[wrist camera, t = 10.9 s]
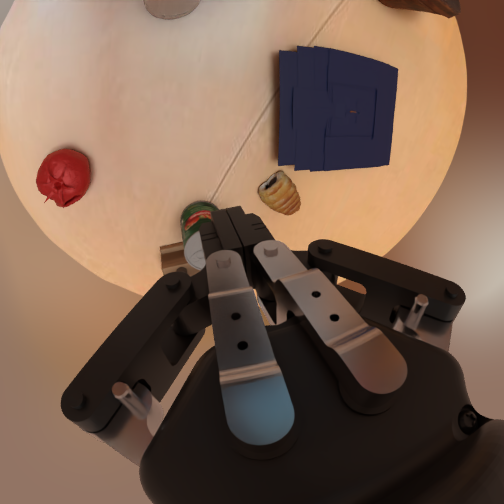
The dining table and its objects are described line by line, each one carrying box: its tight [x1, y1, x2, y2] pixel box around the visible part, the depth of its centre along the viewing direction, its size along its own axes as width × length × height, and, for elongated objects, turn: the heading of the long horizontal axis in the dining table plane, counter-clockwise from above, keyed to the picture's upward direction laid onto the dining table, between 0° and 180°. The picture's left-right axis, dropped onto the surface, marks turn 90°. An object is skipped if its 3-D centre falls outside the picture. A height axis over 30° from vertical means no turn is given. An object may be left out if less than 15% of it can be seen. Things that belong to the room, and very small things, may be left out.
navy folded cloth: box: [278, 46, 398, 172], centre depth 45 cm, size 24×30×4 cm
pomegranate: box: [36, 149, 90, 208], centre depth 35 cm, size 10×10×9 cm
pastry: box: [259, 171, 301, 215], centre depth 52 cm, size 9×7×4 cm
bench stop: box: [160, 242, 201, 276], centre depth 53 cm, size 8×18×9 cm, turn 95°
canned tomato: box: [180, 201, 219, 270], centre depth 47 cm, size 8×8×11 cm
